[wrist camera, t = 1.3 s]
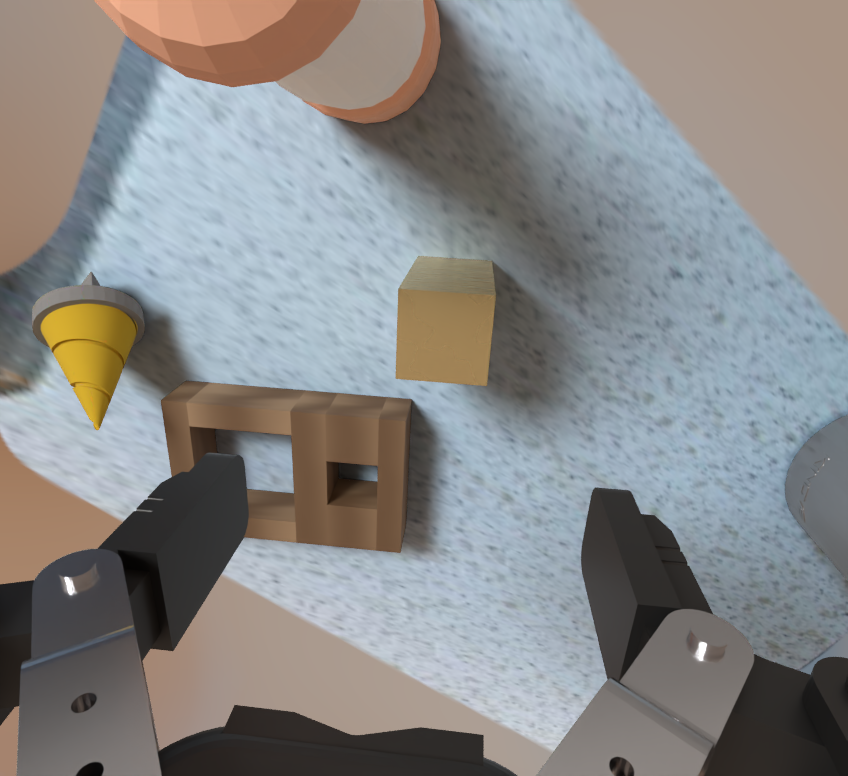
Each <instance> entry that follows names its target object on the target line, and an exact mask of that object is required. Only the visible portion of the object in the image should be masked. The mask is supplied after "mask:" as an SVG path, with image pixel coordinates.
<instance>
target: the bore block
mask: <svg viewBox="0 0 848 776" xmlns="http://www.w3.org/2000/svg"><path fill="white" fill-rule="evenodd" d="M161 405H162V412H163V419H164V426H165V433H166V440H167V447H168V453H169V460H170V467H171V474H172V477H173V476H175V475H177V474H178V473H180V472H189V471H190V470H191V469H192V468H193V467H194V466H195V465H196V464H197V462H198V461H199V460H200V459H201V458H202V457H203V456H204V455H205V454H206V453H217V446H216V437H215V429H226V430H238V431H249V432H260V433H272V434H283V435H291V439H292V459H293V480H294V494H293V493H283V492H272V491H262V490H251V489H247V497H248V508H249V519H248V525H247V530H246V533H245V535H244V537H247V538H257V539H267V540H277V541H287V542H297V543H307V544H317V545H327V546H337V547H347V548H357V549H367V550H377V551H387V552H397V553H400V552H401V547H402V542H403V537H404V532H405V527H406V518H407V495H408V473H409V450H410V427H411V405H412V399H402V398H390V397H378V396H366V395H353V394H341V393H329V392H317V391H305V390H293V389H280V388H268V387H256V386H244V385H232V384H220V383H208V382H195V381H185V382H184V383H183V384H181V385H180V386H179V387H177V388H176V389H175V390H174V391H172V392H171V393H170V394H168V395H167V396H166V397H165V398H163V399H162V400H161ZM339 462H340V463H351V464H362V465H373V466H378V482H374V481H363V480H352V479H342V478H339Z"/></svg>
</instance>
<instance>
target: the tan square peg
mask: <svg viewBox="0 0 848 776" xmlns="http://www.w3.org/2000/svg"><path fill="white" fill-rule="evenodd" d="M495 299H496V292H495V283H494V274H493V264H492V261H488V260H472V259H457V258H442V257H427V256H418V257H417V259H416V260H415V262H414V264H413V265H412V267H411V269H410V270H409V272H408V274H407V275H406V277H405V279H404V280H403V282H402V284H401V285H400V287H399V289H398V320H397V352H396V379H406V380H418V381H431V382H443V383H456V384H468V385H481V386H487V379H488V369H489V359H490V349H491V339H492V329H493V319H494V309H495Z"/></svg>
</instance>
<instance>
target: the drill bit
mask: <svg viewBox="0 0 848 776" xmlns="http://www.w3.org/2000/svg"><path fill="white" fill-rule="evenodd" d="M32 328H33V332H34V334H35V336H36V337H37V339H38V340H39V341H40V342H42V343H43V344H44V345H46V346H48V347H49V348H50V349H51V350H52V352H53V354H54V356H55V358H56V359H57V361H58V363H59V365H60V367H61V368H62V370H63V372H64V374H65V376H66V377H67V379H68V381H69V383H70V385H71V386H73V387H74V388H73V390H74V392H75V394H76V395H77V397H78V399H79V401H80V403H81V404H82V406H83V408H84V410H85V412H86V413H87V415H88V417H89V419H90V420H91V421H92V422H94V424H93V425H94V428H95V429H96V430H99V428H100V426H101V423H102V421H103V418H104V416H105V413H106V411H107V408H108V405H109V403H110V401H111V398H112V396H113V393H114V391H115V388H116V386H117V383H118V380H119V378H120V375H121V373H122V370H123V368H124V365H125V363H126V360H127V358H128V355H129V353H130V350H131V347H132V346H134V345H135V344H136V343H138V342H139V341H140V339H141V338H142V337H143V334H144V332H145V324H144V315H143V311H142V308H141V306H140V305H139V304H138V302H137V301H135V300H134V299H133V298H132V297H130V296H128V295H127V294H125V293H123V292H120V291H118V290H115V289H111V288H107V287H103V286H100V284H99V283H98V281H97V280H96V278H95V276H94V275H93V273H92V272H90V273H89V275H88V276H87V277H86V279H85V280H84V281H83V283H82V285H76V286H68V287H63V288H59V289H56V290H53V291H50V292H48V293H47V294H45V295H43V296H42V297H41V298H40V299H38V300H37V301H36V303H35V305H34V306H33V311H32Z"/></svg>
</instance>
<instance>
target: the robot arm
mask: <svg viewBox="0 0 848 776" xmlns="http://www.w3.org/2000/svg"><path fill="white" fill-rule="evenodd" d="M785 496H786V501H787V504H788V507H789V510H790V512H791V513H792V514H793V516H794V517H795V519H796V520H797V522H798V523H799V524H800V525H801V526H802V527H803V529H804V530H805V531H806V532H807V533H808V534H809V536H810V537H811V538H812V539H813V540H814V541H815V543H816V544H817V545H818V546H819V547H820V548H821V550H822V551H823V552H824V553H825V554H826V555H827V557H828V558H829V559H830V560H831V561H832V563H833V564H834V565H835V566H836V568H837V569H838V570H839V571H840V572H841V573H842V574H843V576H844V577H845V578H846V579H847V580H848V415H846V416H844V417H841V418H839V419H837V420H835V421H833V422H831V423H830V424H828V425H827V426H825V427H824V428H822V429H821V430H819V431H818V432H817V433H816V434H814V435H813V436H812V437H811V438H810V439H809V440H808V441H807V442H806V443H805V444H804V445H803V446H802V448H801V449H800V450H799V452H798V453H797V454H796V456H795V457H794V459H793V461H792V463H791V466H790V468H789V470H788V473H787V478H786V482H785ZM248 519H249V508H248V497H247V487H246V476H245V465H244V460H243V458H242V457H241V456H240V455H231V454H219V453H206V454H205V455H204V456H203V457H202V458H201V459H200V460H199V461H198V462H197V464H196V465H195V466H194V467H193V468H192V469H191V470H190V471H189V472H180V473H178V474H177V475H175V476H173V477H171V478H169V479H168V480H166V481H164V482H162V483H161V484H160V485H159V486H158V487H157V488H156V489H155V490H154V491H153V492H152V493H151V494H150V495H149V496H148V499H147V500H144V501H143V502H142V503H141V504H140V505H139V506H138V508H137V510H136V511H134V512H133V513H132V514H131V515H130V516H129V517H128V518H127V519H126V520H125V521H124V522H123V523H122V524H121V525H120V526H119V527H118V528H117V529H116V530H115V531H114V532H113V533H112V534H111V535H110V536H109V537H108V538H107V539H106V540H105V541H104V542H103V543H102V545H101V546H100V547H99V548H98V549H88V550H82V551H78V552H74V553H71V554H68V555H66V556H63V557H61V558H60V559H57V560H55V561H54V562H52V563H51V564H49V565H48V566H46V567H45V568H44V569H43V570H42V571H41V572H40V573H39V574H38V575H37V577H36V578H35V580H32V581H25V582H16V583H8V584H0V725H1V724H2V723H3V721H4V720H5V719H6V717H7V716H8V715H9V714H10V712H11V711H12V710H13V709H14V707H16V706H19V725H18V751H17V752H18V753H17V776H517V775H516V774H514V773H513V772H511V771H510V770H509V769H507V768H505V767H503V766H501V765H499V764H498V763H496V762H494V761H491V760H489V759H486V758H484V757H483V735H478V734H471V733H462V732H454V731H446V730H437V729H429V728H413V729H405V730H397V731H389V732H382V733H374V734H366V735H350V734H347V733H345V732H342V731H340V730H337V729H335V728H332V727H330V726H327V725H325V724H322V723H320V722H317V721H315V720H312V719H310V718H307V717H305V716H302V715H300V714H297V713H295V712H288V711H280V710H272V709H263V708H255V707H247V706H238V705H235V706H234V708H233V710H232V712H231V714H230V717H229V719H228V721H227V723H226V726H225V727H218V728H214V729H210V730H206V731H202V732H199V733H196V734H194V735H191V736H188V737H185V738H183V739H181V740H179V741H177V742H175V743H172V744H170V745H169V746H167V747H165V748H163V749H162V750H159V745H158V740H157V734H156V729H155V724H154V719H153V713H152V708H151V703H150V698H149V693H148V687H147V682H146V677H145V672H144V667H143V662H142V661H143V659H144V658H145V656H146V655H147V653H148V652H149V650H150V649H159V650H168V651H173V650H174V649H175V647H176V646H177V644H178V642H179V641H180V639H181V638H182V636H183V634H184V633H185V631H186V630H187V628H188V626H189V625H190V623H191V622H192V620H193V618H194V617H195V615H196V614H197V612H198V610H199V609H200V607H201V605H202V604H203V602H204V601H205V599H206V598H207V596H208V594H209V592H210V591H211V589H212V588H213V586H214V585H215V583H216V581H217V580H218V578H219V577H220V575H221V573H222V572H223V570H224V569H225V567H226V565H227V564H228V562H229V561H230V559H231V557H232V556H233V554H234V552H235V551H236V549H237V548H238V546H239V544H240V543H241V541H242V540H243V538H244V535H245V533H246V530H247V525H248ZM581 566H582V573H583V578H584V582H585V586H586V591H587V595H588V599H589V603H590V607H591V612H592V616H593V620H594V624H595V629H596V633H597V637H598V641H599V645H600V650H601V654H602V658H603V662H604V666H605V671H606V675H607V679H608V680H607V681H606V682H605V683H604V685H603V686H602V687H601V689H600V690H599V691H598V693H597V694H596V695H595V697H594V698H593V699H592V701H591V702H590V703H589V705H588V706H587V707H586V709H585V710H584V712H583V713H582V714H581V716H580V717H579V718H578V720H577V721H576V722H575V724H574V725H573V726H572V728H571V729H570V730H569V732H568V733H567V734H566V736H565V737H564V739H563V740H562V741H561V743H560V744H559V745H558V747H557V748H556V749H555V751H554V752H553V753H552V755H551V756H550V757H549V759H548V760H547V761H546V763H545V764H544V766H543V767H542V768H541V770H540V771H539V772H538V774H537V775H536V776H848V659H847V658H842V657H828V658H824V659H822V660H820V661H818V662H817V663H816V664H815V666H814V668H813V671H812V673H811V675H809V674H806V673H803V672H801V671H798V670H795V669H792V668H789V667H786V666H783V665H780V664H777V663H774V662H771V661H769V660H766V659H764V658H761V657H759V656H757V655H755V654H754V653H753V649H752V647H751V645H750V643H749V642H748V640H747V639H746V638H745V637H744V635H743V634H742V633H741V632H740V631H739V630H737V629H736V628H735V627H734V626H733V625H731V624H730V623H728V622H727V621H725V620H723V619H721V618H720V617H717V616H715V615H713V613H712V611H711V609H710V607H709V605H708V603H707V601H706V599H705V597H704V595H703V593H702V591H701V589H700V587H699V585H698V583H697V581H696V579H695V577H694V575H693V573H692V571H691V569H690V567H689V566H687V561H686V559H685V557H684V555H683V553H682V552H680V547H679V545H678V543H677V541H676V539H675V537H674V535H673V533H672V531H671V530H670V529H669V528H668V527H666V526H665V525H664V524H663V523H662V522H661V521H660V520H659V519H658V518H657V517H656V516H654V515H644V514H641V513H640V511H639V509H638V506H637V504H636V502H635V499H634V497H633V495H632V493H631V492H630V491H629V490H618V489H607V488H594V490H593V492H592V495H591V500H590V506H589V511H588V516H587V522H586V527H585V532H584V538H583V543H582V552H581Z"/></svg>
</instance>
